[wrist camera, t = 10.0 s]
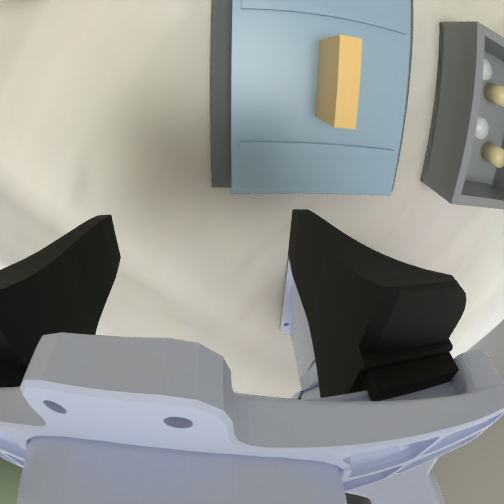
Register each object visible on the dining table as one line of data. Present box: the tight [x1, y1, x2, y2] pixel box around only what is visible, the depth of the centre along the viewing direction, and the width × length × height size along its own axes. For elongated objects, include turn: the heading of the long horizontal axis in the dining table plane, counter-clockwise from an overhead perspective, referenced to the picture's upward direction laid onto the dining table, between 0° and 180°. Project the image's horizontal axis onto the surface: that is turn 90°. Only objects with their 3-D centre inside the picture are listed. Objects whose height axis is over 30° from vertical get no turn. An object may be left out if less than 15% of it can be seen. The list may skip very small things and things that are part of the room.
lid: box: [231, 0, 411, 196], centre depth 15 cm, size 15×11×5 cm
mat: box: [210, 0, 413, 191], centre depth 17 cm, size 16×14×1 cm
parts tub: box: [421, 22, 504, 209], centre depth 17 cm, size 14×10×4 cm
